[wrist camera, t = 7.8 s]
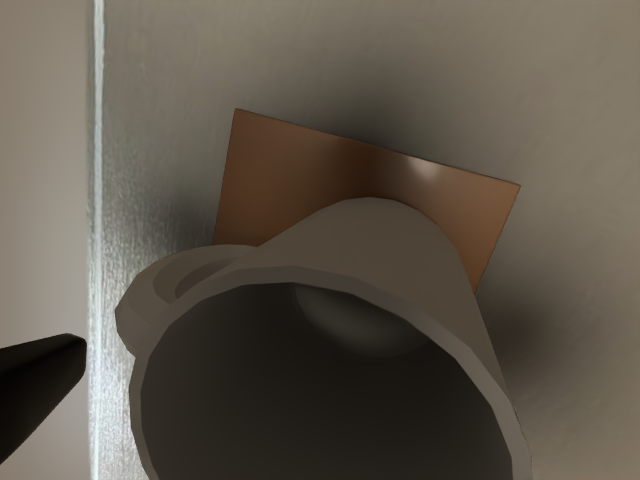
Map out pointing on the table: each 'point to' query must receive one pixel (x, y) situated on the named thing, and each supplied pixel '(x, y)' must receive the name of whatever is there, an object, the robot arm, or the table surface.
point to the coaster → (349, 187)
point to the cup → (319, 358)
